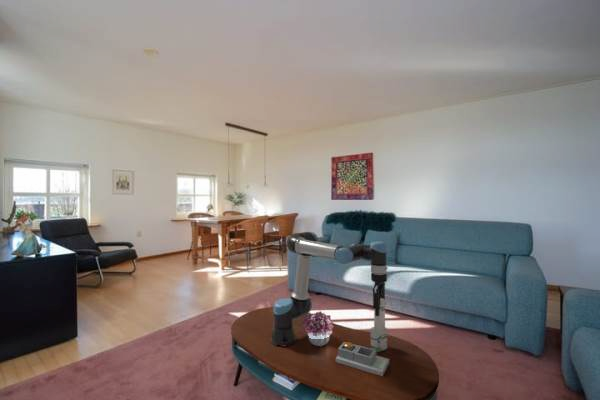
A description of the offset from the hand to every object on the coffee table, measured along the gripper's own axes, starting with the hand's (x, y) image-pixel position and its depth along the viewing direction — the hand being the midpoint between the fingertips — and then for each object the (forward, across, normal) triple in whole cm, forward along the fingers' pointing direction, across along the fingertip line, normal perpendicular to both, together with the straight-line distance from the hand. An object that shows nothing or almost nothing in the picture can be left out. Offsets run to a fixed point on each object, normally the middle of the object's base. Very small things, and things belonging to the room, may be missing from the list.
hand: (379, 319), depth 142 cm
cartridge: (+6, 0, 0) cm, 6 cm away
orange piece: (+22, 0, +17) cm, 27 cm away
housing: (+24, 0, +9) cm, 26 cm away
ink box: (+24, +18, +6) cm, 31 cm away
